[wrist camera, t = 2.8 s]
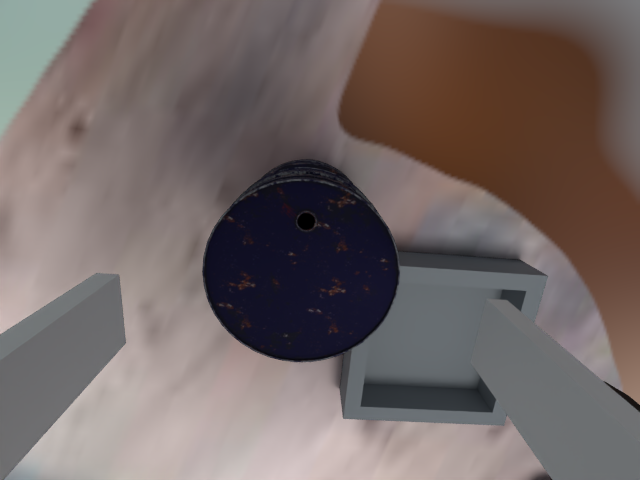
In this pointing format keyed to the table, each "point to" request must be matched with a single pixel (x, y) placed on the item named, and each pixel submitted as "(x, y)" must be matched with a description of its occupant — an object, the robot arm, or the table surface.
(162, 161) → the table surface
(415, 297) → the tray
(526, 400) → the robot arm
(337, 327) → the storage jar
